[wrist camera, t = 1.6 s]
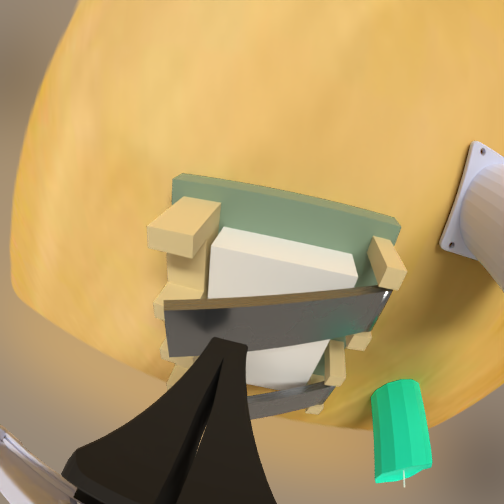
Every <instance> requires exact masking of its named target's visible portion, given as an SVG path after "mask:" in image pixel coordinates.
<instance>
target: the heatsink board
mask: <svg viewBox="0 0 504 504" xmlns="http://www.w3.org/2000/svg"><path fill="white" fill-rule="evenodd" d="M400 229H401V226H400V225H399V223H398V222H397V220H396V219H395V218H394V217H390V216H387V215H383V214H380V213H376V212H372V211H369V210H365V209H361V208H357V207H354V206H350V205H346V204H342V203H338V202H333V201H329V200H325V199H321V198H316V197H312V196H307V195H303V194H298V193H294V192H289V191H284V190H279V189H274V188H269V187H264V186H259V185H253V184H248V183H242V182H236V181H231V180H224V179H218V178H212V177H205V176H199V175H192V174H184V173H182V174H180V175H179V176H177V177H175V178H173V183H172V206H171V207H169V208H168V209H167V210H166V211H164V212H163V213H162V214H161V215H160V216H158V217H157V218H156V219H155V220H153V221H152V222H151V223H150V224H149V225H147V240H148V248H150V249H154V250H158V251H163V252H167V276H168V282H167V284H166V285H165V287H164V288H163V289H162V291H161V292H160V294H159V295H158V296H157V298H156V299H155V301H154V302H153V307H154V315H155V318H158V319H161V320H164V321H165V319H164V300H186V299H212V298H232V297H249V296H265V295H279V294H292V293H304V292H315V291H326V290H336V289H346V288H355V287H364V286H373V285H378V286H379V287H383V288H388V289H393V290H399V288H400V286H401V284H402V282H403V280H404V278H405V276H406V273H407V270H406V268H405V266H404V264H403V262H402V260H401V258H400V257H399V255H398V253H397V251H396V249H395V248H394V245H395V242H396V240H397V237H398V235H399V232H400ZM371 339H372V336H371V331H370V332H361V333H357V334H352V335H347V336H343V337H338V338H333V339H328V340H322V341H317V342H311V343H305V344H299V345H293V346H287V347H280V348H273V349H265V350H257V351H249V352H247V358H246V384H250V385H255V386H260V387H265V388H270V389H275V390H281V391H282V390H287V389H292V388H296V387H301V386H305V385H310V384H314V383H318V382H322V381H325V382H324V385H330V386H339V387H340V386H341V384H342V383H343V382H344V380H345V379H346V366H345V352H344V349H345V347H347V349H354V350H361V351H364V350H365V349H366V347H367V345H368V344H369V342H370V340H371ZM160 354H161V359H164V360H167V361H170V362H173V363H175V367H174V369H173V371H172V373H171V375H170V377H169V379H168V381H167V384H166V385H167V389H168V390H169V389H170V388H171V387H172V386H173V385H174V384H175V383H176V382H177V381H178V380H179V379H180V378H181V377H182V376H183V375H184V374H185V372H186V371H187V370H188V369H189V368H190V367H191V366H192V365H193V363H194V362H195V361H196V360H197V358H198V357H199V356H188V357H169V352H168V344H167V337H166V338H165V340H164V341H163V343H162V345H161V347H160ZM323 406H324V403H323V404H322V405H315V406H311V407H308V408H306V411H305V413H310V414H319V413H320V412H321V411H322V410H323Z"/></svg>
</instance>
